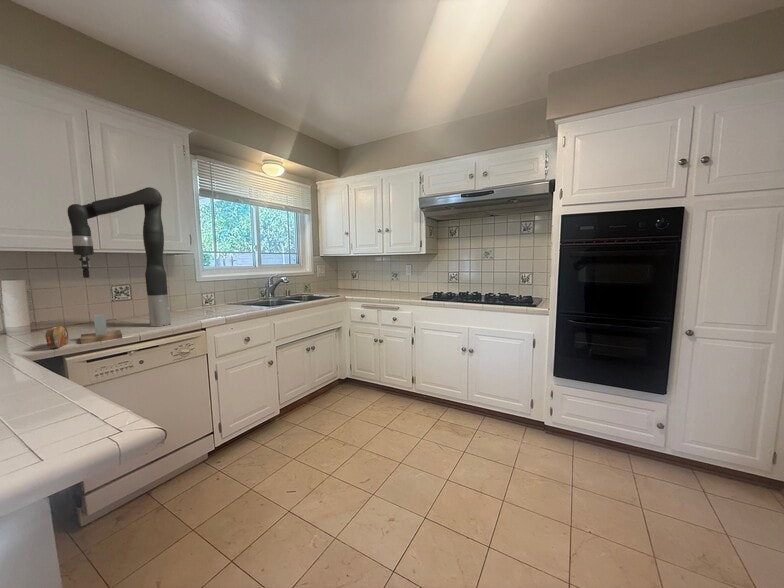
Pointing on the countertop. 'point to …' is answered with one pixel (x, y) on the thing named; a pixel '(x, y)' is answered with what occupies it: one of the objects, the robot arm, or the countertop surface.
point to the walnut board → (100, 337)
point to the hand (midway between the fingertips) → (86, 277)
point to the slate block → (100, 324)
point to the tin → (57, 337)
